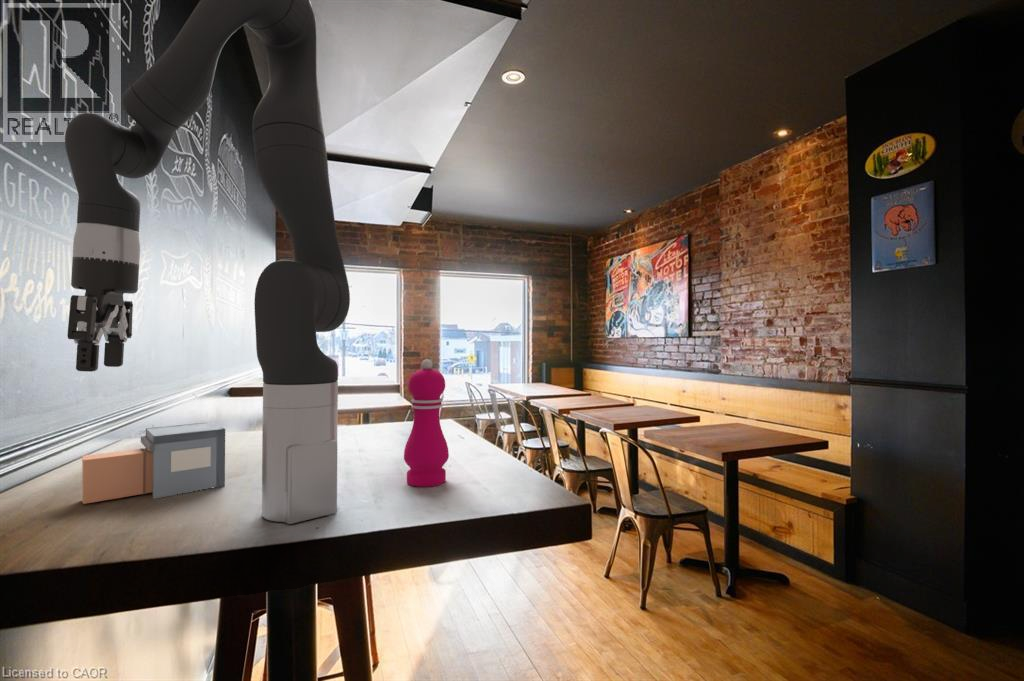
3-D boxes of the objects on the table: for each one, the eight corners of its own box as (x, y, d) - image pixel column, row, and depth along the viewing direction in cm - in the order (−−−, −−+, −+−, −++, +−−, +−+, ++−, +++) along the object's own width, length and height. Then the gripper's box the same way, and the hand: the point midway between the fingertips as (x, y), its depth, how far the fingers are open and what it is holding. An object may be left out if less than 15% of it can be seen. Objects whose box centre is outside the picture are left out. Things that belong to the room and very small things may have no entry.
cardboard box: (209, 482, 76) (210, 444, 76) (83, 504, 65) (83, 459, 66) (204, 478, 79) (204, 441, 79) (81, 498, 68) (82, 455, 68)
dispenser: (225, 486, 75) (225, 429, 75) (148, 500, 68) (149, 436, 68) (210, 474, 82) (211, 421, 82) (140, 485, 75) (140, 428, 75)
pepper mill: (424, 491, 73) (425, 360, 73) (394, 482, 77) (395, 359, 77) (457, 480, 79) (458, 359, 79) (427, 473, 83) (428, 358, 83)
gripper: (117, 255, 65) (111, 374, 65) (154, 267, 78) (148, 366, 78) (47, 248, 62) (40, 372, 63) (97, 262, 76) (92, 364, 76)
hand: (100, 368), depth 71 cm, fingers open, 8 cm apart
